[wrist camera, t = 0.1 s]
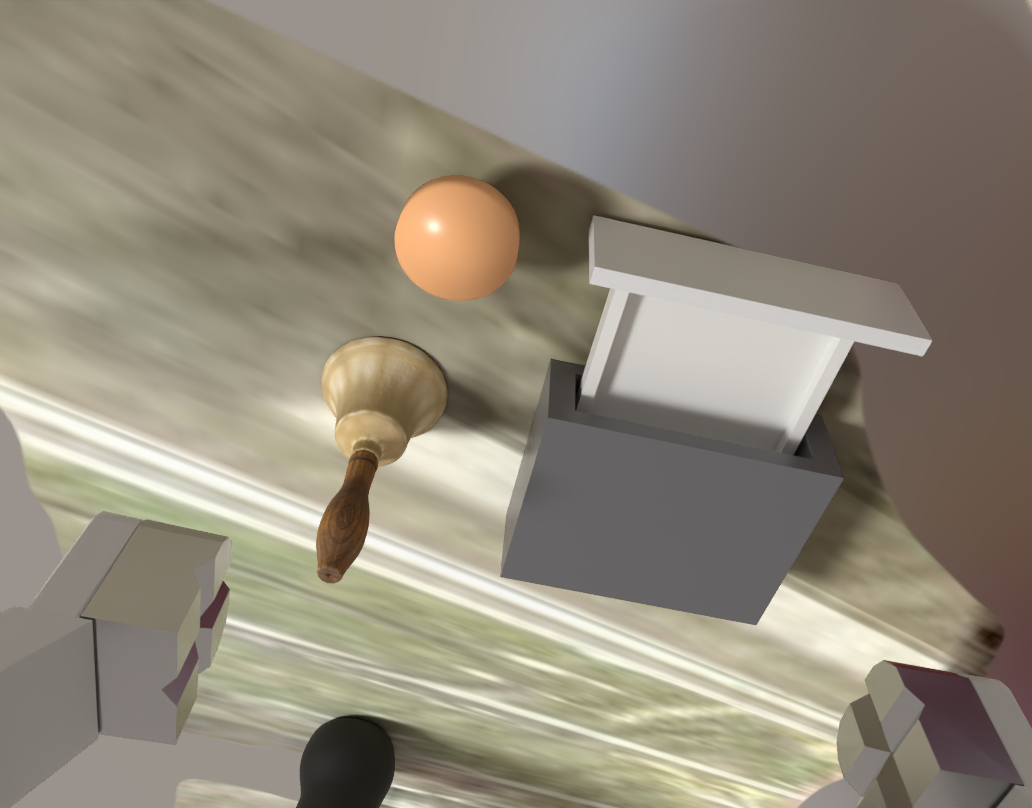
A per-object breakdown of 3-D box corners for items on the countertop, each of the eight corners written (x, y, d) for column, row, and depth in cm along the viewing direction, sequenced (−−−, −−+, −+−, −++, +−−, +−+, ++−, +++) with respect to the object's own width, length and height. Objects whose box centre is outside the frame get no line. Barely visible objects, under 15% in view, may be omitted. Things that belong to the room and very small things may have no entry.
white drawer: (593, 215, 49) (594, 266, 44) (898, 283, 50) (932, 340, 45) (539, 400, 57) (536, 461, 52) (804, 455, 58) (824, 519, 53)
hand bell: (465, 423, 59) (433, 611, 46) (354, 448, 61) (293, 635, 48) (419, 322, 54) (370, 499, 41) (300, 352, 56) (217, 531, 43)
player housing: (550, 359, 55) (547, 417, 50) (821, 416, 57) (844, 478, 52) (506, 514, 64) (500, 576, 59) (743, 560, 65) (756, 625, 60)
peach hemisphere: (408, 162, 44) (403, 175, 43) (531, 190, 45) (530, 203, 43) (392, 272, 48) (387, 286, 47) (506, 296, 49) (504, 311, 47)
